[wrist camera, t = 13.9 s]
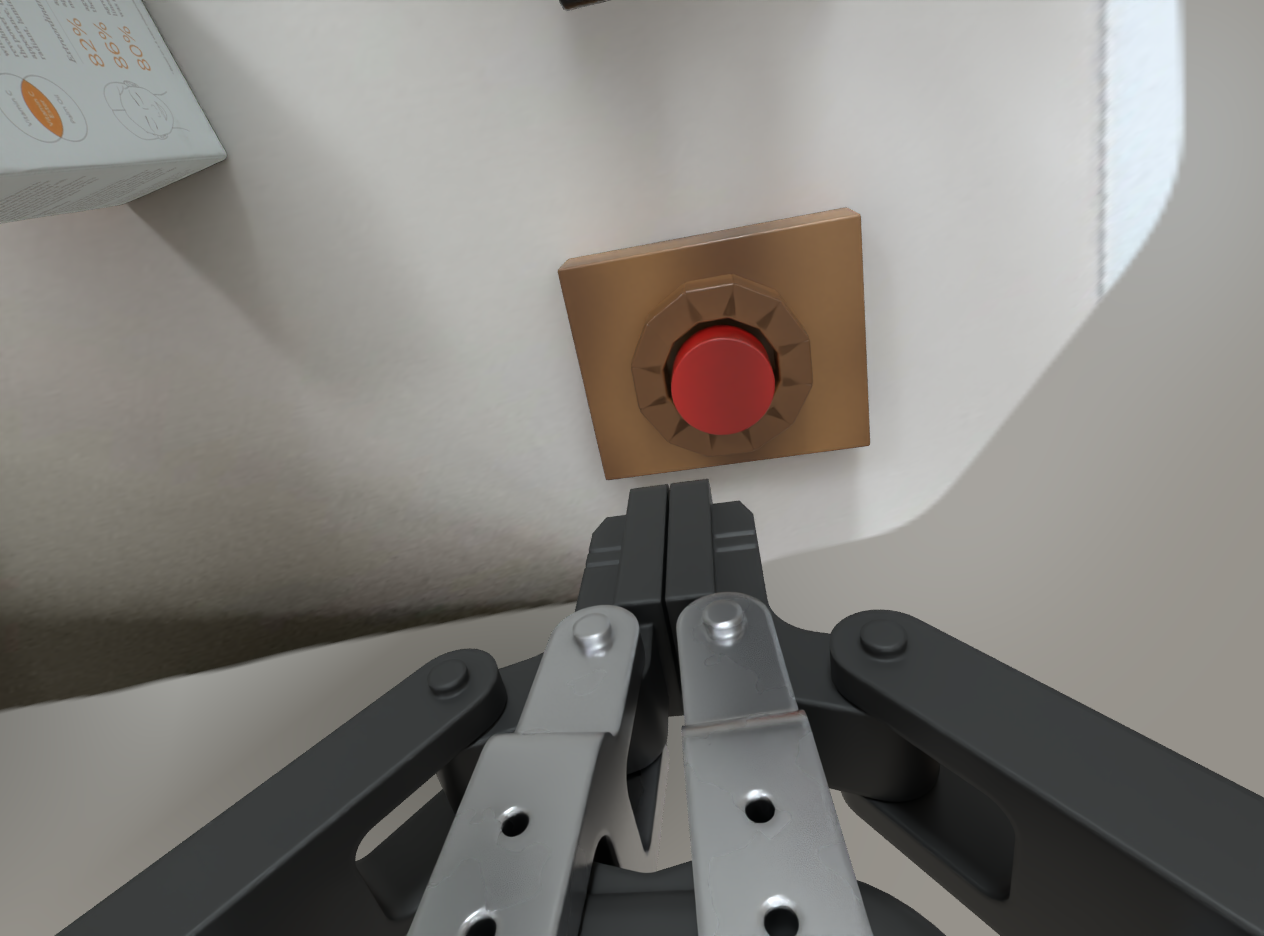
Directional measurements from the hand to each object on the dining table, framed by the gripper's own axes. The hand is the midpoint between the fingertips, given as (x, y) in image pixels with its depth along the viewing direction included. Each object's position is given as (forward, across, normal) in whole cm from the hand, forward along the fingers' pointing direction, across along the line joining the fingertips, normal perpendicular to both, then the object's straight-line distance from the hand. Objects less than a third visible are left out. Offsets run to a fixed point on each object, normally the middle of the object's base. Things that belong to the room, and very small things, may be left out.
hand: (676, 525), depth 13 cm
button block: (+17, -1, +2) cm, 17 cm away
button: (+13, -1, +2) cm, 13 cm away
